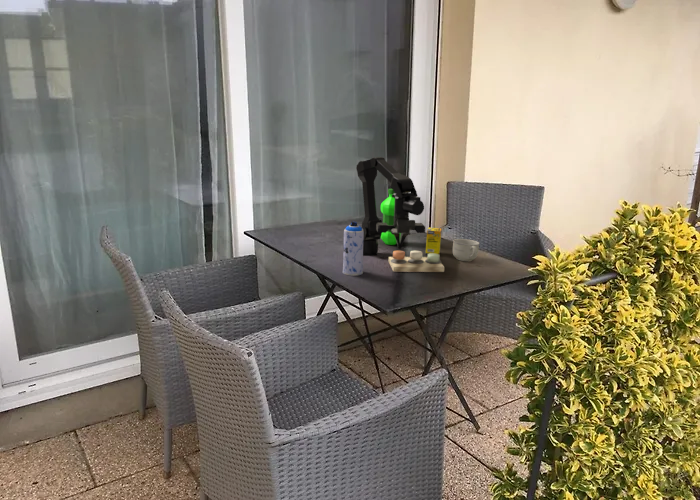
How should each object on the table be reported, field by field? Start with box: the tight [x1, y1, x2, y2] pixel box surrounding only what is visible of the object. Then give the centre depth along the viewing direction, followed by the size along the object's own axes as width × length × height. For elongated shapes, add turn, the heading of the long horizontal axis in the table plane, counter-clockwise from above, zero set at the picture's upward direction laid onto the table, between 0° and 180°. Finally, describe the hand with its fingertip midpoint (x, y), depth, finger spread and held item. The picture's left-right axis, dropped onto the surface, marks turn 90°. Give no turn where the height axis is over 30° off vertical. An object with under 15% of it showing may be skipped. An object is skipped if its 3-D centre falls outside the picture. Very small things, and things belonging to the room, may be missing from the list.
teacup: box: [452, 238, 480, 262], centre depth 251 cm, size 14×11×8 cm
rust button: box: [392, 249, 406, 260], centre depth 239 cm, size 5×5×2 cm
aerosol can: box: [342, 220, 364, 277], centre depth 229 cm, size 8×8×20 cm
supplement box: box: [425, 227, 442, 256], centre depth 259 cm, size 6×6×11 cm
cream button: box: [409, 250, 423, 260], centre depth 240 cm, size 5×5×2 cm
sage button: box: [426, 253, 440, 262], centre depth 241 cm, size 5×5×2 cm
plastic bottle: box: [380, 188, 401, 246], centre depth 272 cm, size 10×10×25 cm
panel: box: [388, 256, 445, 273], centre depth 241 cm, size 20×14×2 cm
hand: (399, 248), depth 239 cm, fingers closed
